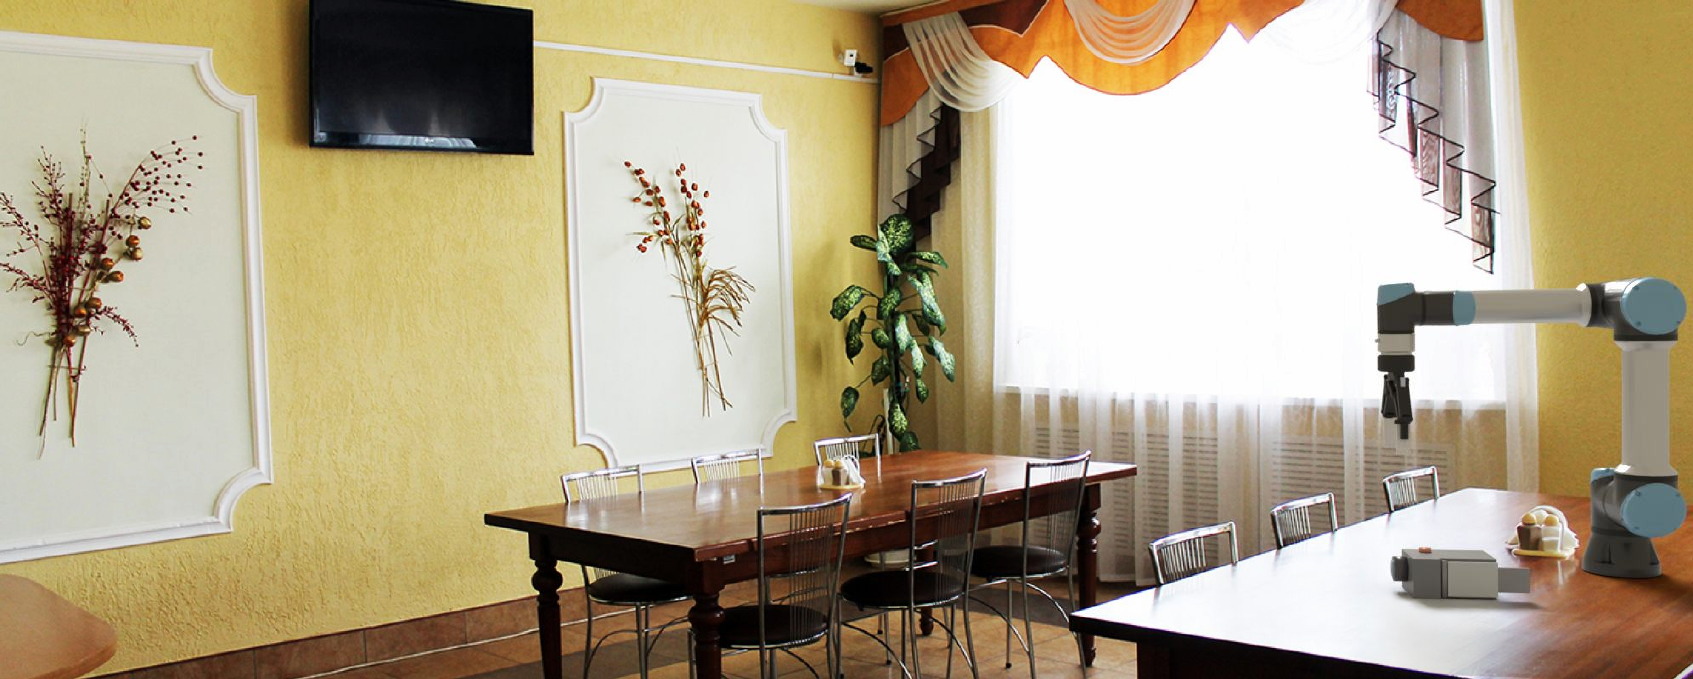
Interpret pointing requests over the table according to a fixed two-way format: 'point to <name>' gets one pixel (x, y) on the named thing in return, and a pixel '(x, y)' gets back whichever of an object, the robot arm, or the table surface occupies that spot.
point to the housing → (1430, 569)
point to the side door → (1482, 579)
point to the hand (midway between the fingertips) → (1396, 451)
